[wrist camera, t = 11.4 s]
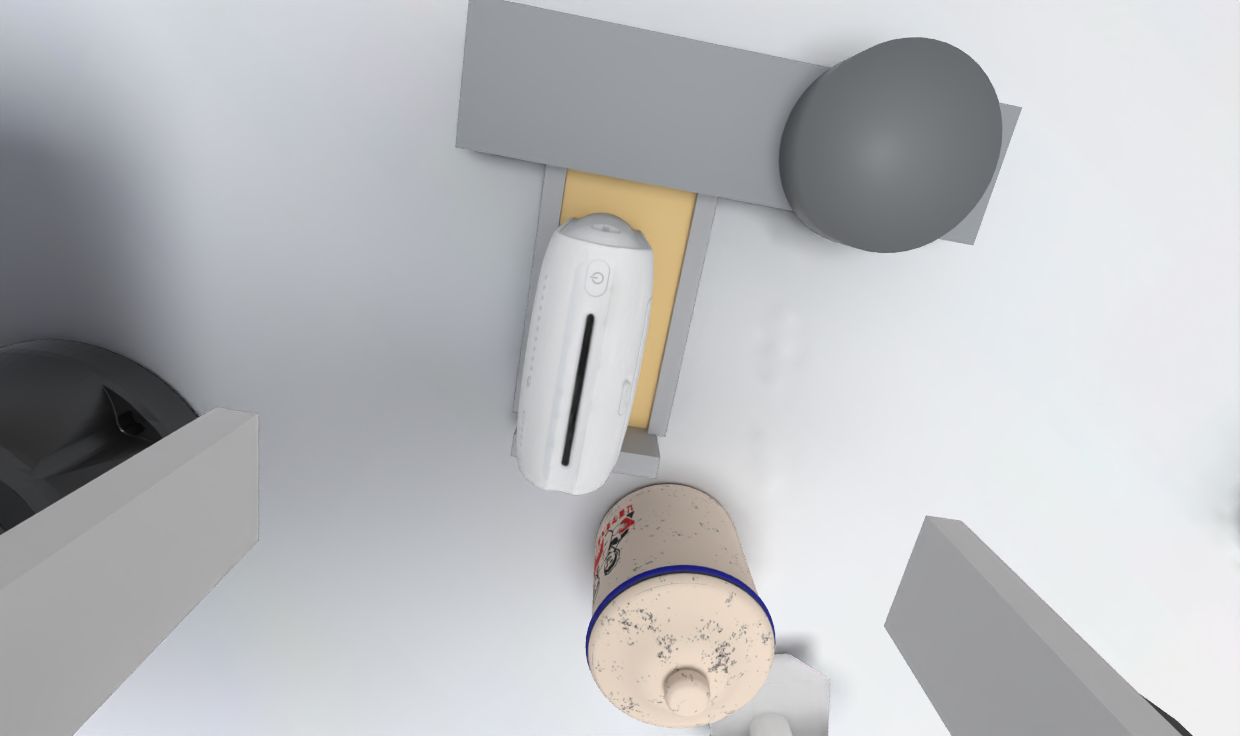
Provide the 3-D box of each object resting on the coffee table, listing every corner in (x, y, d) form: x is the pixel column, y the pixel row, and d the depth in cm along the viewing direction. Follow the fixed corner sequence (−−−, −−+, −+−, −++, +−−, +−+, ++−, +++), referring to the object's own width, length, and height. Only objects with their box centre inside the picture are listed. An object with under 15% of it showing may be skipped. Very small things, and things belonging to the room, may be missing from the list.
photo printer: (566, 202, 30) (536, 219, 18) (650, 218, 30) (674, 245, 18) (536, 392, 33) (494, 512, 21) (612, 405, 33) (613, 530, 22)
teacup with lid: (600, 469, 35) (595, 605, 24) (752, 486, 36) (815, 626, 24) (579, 635, 39) (565, 819, 28) (717, 648, 39) (758, 834, 28)
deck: (447, 412, 34) (409, 466, 28) (489, -9, 28) (453, -63, 21) (853, 477, 35) (905, 542, 29) (981, 93, 29) (1083, 71, 23)
